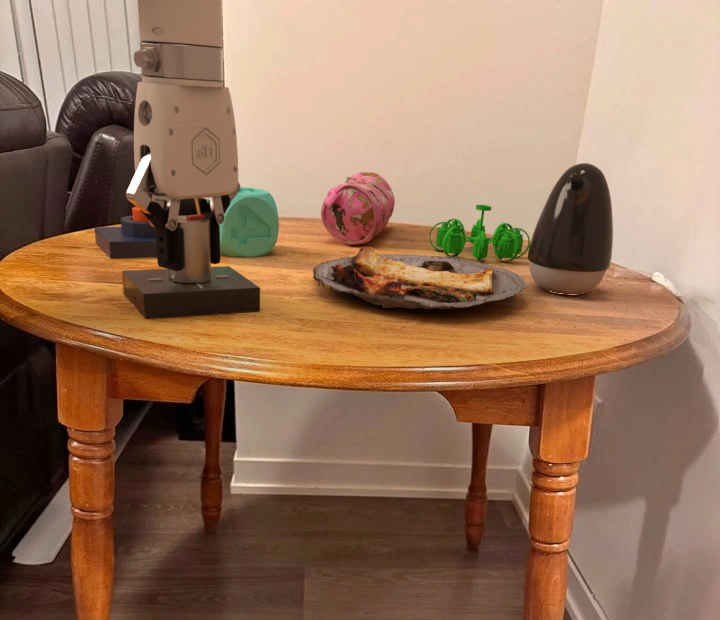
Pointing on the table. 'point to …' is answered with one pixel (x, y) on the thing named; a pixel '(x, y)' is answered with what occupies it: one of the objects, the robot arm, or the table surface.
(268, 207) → the decorative dice
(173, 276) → the knob
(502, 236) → the chandelier
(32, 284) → the table surface
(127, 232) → the button box
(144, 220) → the button
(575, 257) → the black egg-shaped diffuser
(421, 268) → the food plate
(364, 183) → the pencil case
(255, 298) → the knob console
